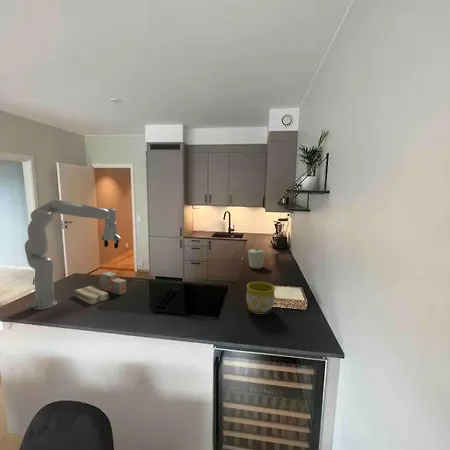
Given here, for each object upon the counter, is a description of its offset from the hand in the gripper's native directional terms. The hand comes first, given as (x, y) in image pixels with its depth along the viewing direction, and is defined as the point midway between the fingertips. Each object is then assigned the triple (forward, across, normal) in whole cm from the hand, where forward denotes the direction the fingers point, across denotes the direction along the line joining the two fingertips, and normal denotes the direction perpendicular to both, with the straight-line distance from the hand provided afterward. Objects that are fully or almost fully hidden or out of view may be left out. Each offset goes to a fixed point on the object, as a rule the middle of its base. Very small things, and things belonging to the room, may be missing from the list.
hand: (111, 247), depth 194 cm
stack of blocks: (+31, +7, -7) cm, 32 cm away
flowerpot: (+31, +114, +8) cm, 118 cm away
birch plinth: (+30, +3, -22) cm, 38 cm away
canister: (+32, +88, +101) cm, 138 cm away
